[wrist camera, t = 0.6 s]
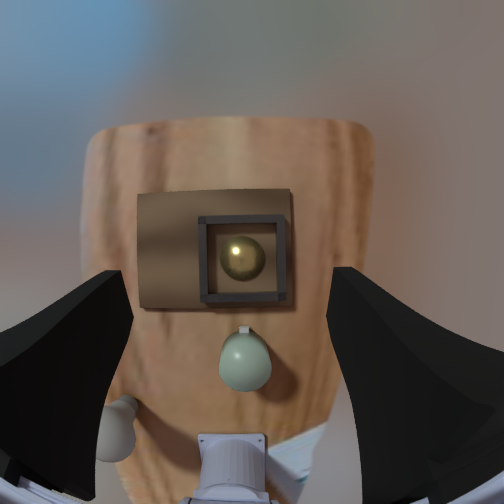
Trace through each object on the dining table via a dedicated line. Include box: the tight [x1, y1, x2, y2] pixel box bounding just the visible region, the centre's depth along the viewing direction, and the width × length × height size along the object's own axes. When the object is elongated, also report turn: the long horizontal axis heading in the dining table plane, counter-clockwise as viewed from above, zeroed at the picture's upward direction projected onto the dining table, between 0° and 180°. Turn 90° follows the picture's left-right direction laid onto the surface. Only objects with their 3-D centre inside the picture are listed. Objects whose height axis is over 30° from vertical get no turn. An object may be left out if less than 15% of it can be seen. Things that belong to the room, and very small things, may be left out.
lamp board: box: [137, 189, 292, 308], centre depth 29 cm, size 12×16×1 cm
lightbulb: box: [96, 395, 138, 462], centre depth 24 cm, size 6×6×11 cm
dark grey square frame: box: [198, 214, 286, 302], centre depth 29 cm, size 8×8×1 cm
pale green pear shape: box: [219, 326, 272, 392], centre depth 27 cm, size 6×5×5 cm
